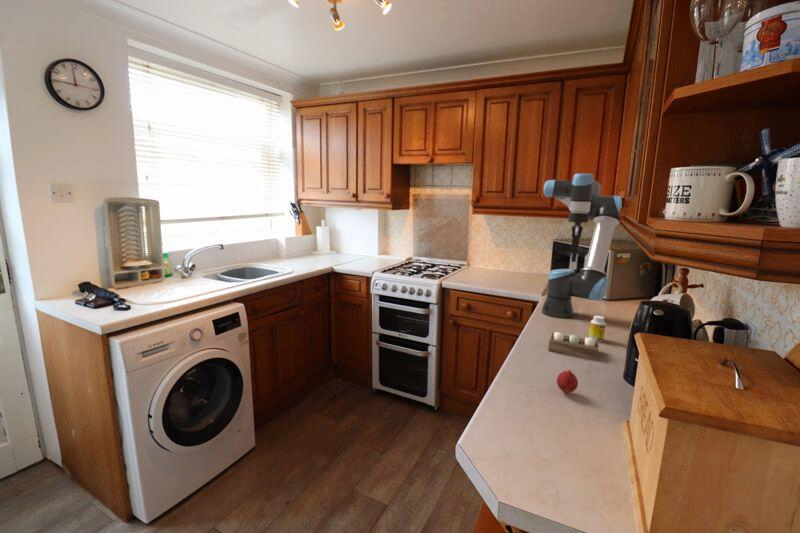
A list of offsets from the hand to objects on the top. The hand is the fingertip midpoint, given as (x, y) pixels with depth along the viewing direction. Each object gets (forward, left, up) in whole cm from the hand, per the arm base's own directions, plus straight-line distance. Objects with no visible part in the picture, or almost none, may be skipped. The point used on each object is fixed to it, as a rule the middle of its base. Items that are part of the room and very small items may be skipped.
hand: (572, 268), depth 159 cm
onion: (+54, +4, -30) cm, 62 cm away
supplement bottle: (-1, +12, -30) cm, 32 cm away
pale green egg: (+17, +4, -28) cm, 33 cm away
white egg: (+17, +10, -28) cm, 34 cm away
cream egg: (+17, -2, -28) cm, 33 cm away
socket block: (+17, +4, -29) cm, 34 cm away
